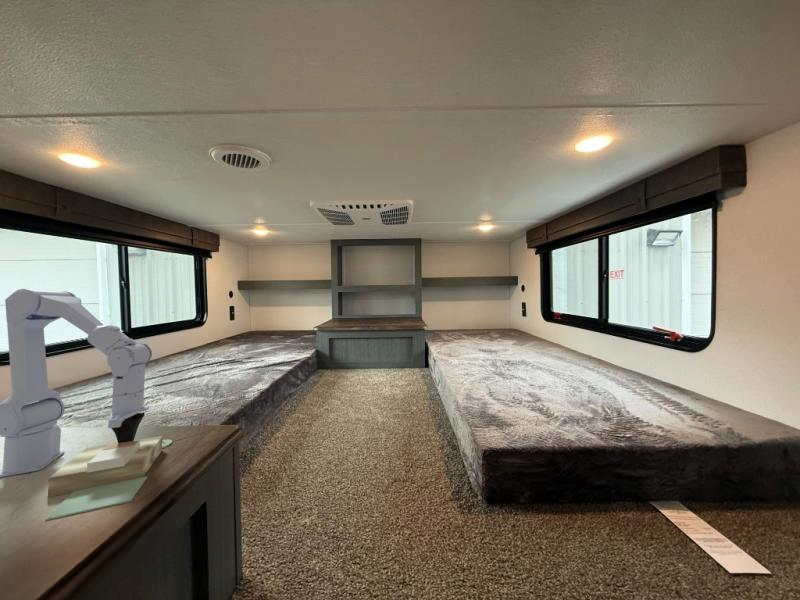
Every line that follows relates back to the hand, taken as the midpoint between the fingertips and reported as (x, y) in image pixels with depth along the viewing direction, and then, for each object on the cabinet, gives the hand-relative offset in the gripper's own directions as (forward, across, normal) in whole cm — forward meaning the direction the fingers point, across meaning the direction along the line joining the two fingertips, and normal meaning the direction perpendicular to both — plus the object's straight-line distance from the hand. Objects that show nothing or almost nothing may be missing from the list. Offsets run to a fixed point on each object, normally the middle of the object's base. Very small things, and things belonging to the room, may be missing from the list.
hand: (126, 445), depth 69 cm
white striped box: (+1, -6, 0) cm, 6 cm away
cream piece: (+5, -2, +2) cm, 5 cm away
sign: (+5, +11, -9) cm, 15 cm away
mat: (+5, -14, -1) cm, 14 cm away
